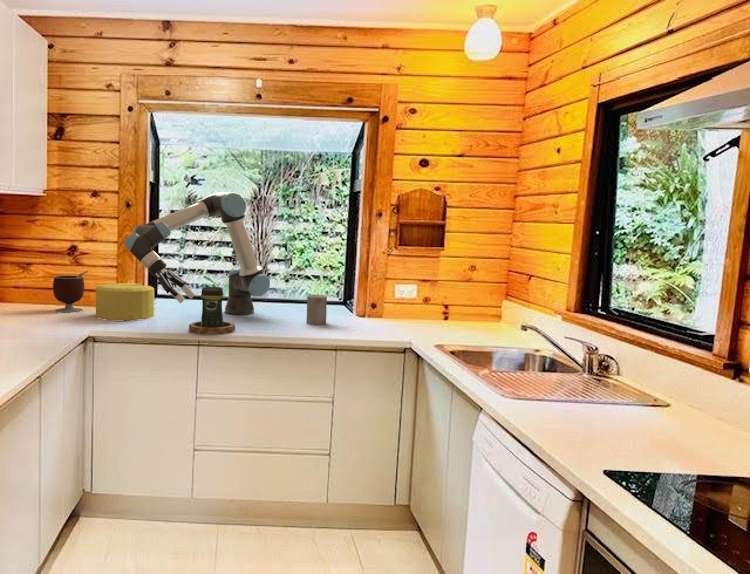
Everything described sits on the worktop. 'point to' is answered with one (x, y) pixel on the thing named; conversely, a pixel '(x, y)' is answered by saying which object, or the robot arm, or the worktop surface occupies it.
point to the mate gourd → (68, 291)
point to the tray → (226, 328)
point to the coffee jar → (212, 307)
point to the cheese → (124, 301)
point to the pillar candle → (316, 309)
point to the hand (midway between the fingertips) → (188, 299)
